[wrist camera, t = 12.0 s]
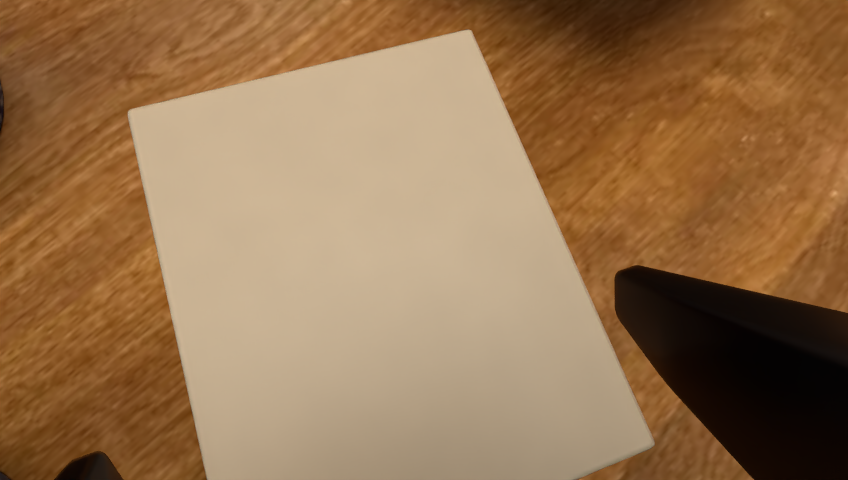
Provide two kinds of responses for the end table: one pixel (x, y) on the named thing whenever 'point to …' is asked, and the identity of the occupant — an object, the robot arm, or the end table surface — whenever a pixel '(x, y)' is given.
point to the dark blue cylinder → (1, 105)
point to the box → (3, 477)
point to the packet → (376, 279)
